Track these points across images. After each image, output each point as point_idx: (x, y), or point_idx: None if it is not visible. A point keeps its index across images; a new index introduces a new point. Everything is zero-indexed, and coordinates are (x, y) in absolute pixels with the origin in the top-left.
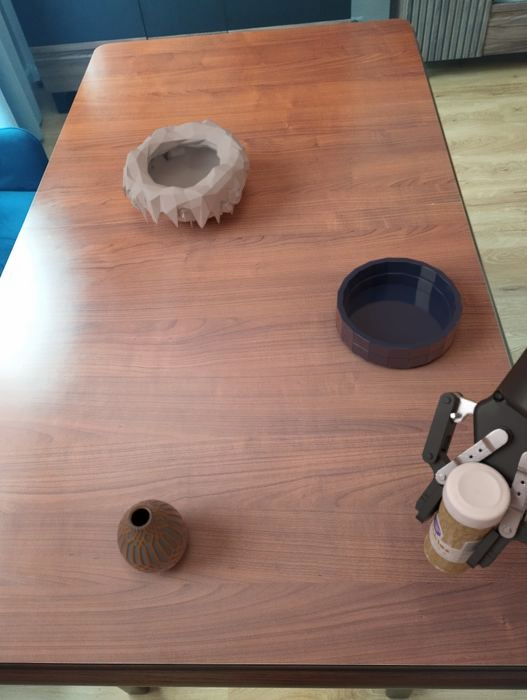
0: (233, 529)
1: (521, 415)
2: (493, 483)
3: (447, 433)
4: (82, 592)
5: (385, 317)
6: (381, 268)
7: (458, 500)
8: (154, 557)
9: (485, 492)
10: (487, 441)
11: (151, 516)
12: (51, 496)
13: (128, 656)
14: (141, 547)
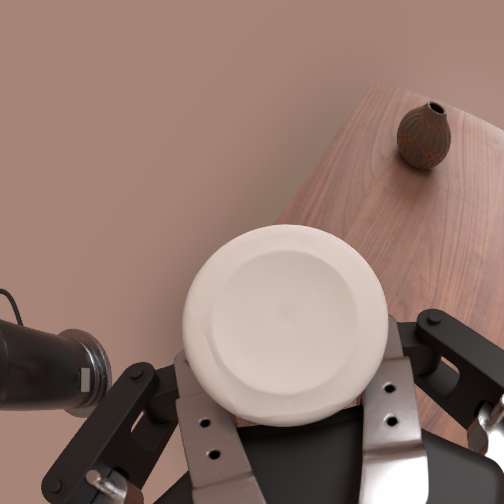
0: (414, 205)
1: None
2: (272, 379)
3: (464, 381)
4: (398, 112)
5: None
6: None
7: (291, 240)
8: (406, 119)
9: (262, 330)
10: (406, 453)
11: (436, 112)
12: (460, 125)
13: (349, 116)
14: (414, 110)
